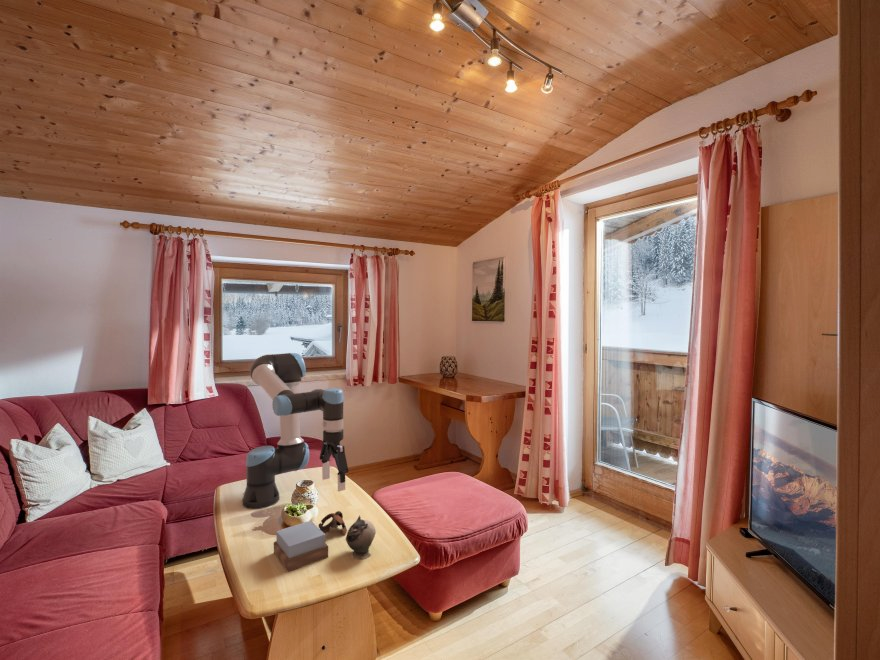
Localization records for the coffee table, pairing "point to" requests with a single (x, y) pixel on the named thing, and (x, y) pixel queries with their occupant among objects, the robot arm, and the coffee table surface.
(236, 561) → the coffee table surface
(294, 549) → the top brick
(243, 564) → the coffee table surface
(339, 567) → the coffee table surface
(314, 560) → the base brick
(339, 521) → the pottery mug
